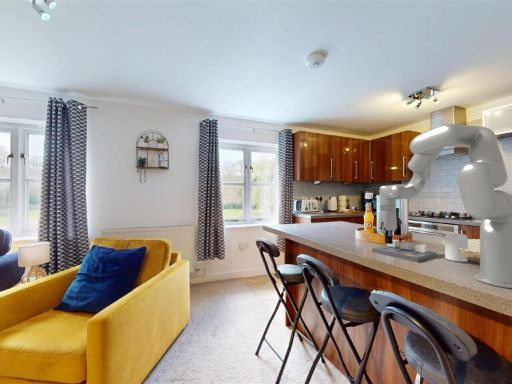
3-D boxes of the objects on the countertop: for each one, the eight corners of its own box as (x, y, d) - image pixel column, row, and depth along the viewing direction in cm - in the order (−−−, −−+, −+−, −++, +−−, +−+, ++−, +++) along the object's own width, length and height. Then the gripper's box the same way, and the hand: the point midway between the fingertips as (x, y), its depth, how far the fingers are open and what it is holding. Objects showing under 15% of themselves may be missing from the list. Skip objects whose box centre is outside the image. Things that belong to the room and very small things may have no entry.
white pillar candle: (459, 263, 106) (459, 236, 106) (440, 258, 114) (440, 233, 114) (472, 262, 109) (472, 235, 109) (453, 257, 116) (453, 232, 116)
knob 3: (428, 251, 118) (428, 244, 118) (424, 253, 116) (424, 245, 116) (418, 250, 122) (418, 243, 122) (414, 251, 120) (414, 243, 120)
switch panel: (436, 256, 118) (436, 251, 118) (417, 262, 109) (417, 257, 109) (391, 247, 137) (391, 243, 137) (372, 252, 128) (372, 247, 128)
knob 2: (413, 249, 124) (413, 242, 124) (409, 250, 122) (409, 243, 122) (404, 247, 128) (404, 240, 128) (400, 248, 126) (400, 241, 126)
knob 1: (399, 246, 130) (399, 239, 130) (395, 247, 128) (395, 240, 128) (391, 245, 134) (391, 238, 134) (387, 245, 132) (387, 239, 132)
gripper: (388, 208, 135) (389, 240, 135) (372, 209, 127) (373, 243, 127) (402, 208, 129) (403, 242, 128) (386, 209, 121) (387, 246, 121)
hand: (388, 243), depth 128 cm, fingers closed
